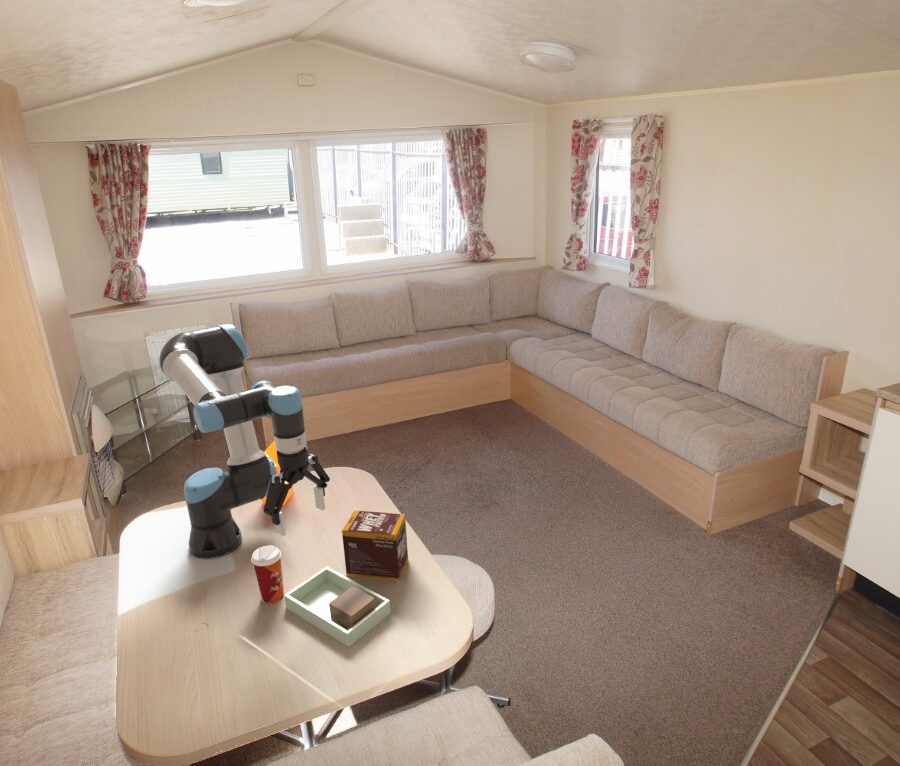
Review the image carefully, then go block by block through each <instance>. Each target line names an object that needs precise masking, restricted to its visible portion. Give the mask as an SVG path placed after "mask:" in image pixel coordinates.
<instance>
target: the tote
mask: <svg viewBox="0 0 900 766" xmlns="http://www.w3.org/2000/svg"><path fill="white" fill-rule="evenodd" d="M352 586H353V587H355V588H357V589H359V590H361V591H363V592H364V593H366V594H368V595H370V596H372V597H374V598H375V605H376V609H374V610H373V611H372V612H370V613H369V614H368V615H367V616H365V617H364V618H363V619H362V620H360V621H359V622H358V623H357V624H355V625H354V626H353V627H352V628H350V629H349V630H348V631H347V630H346V629H344V628H342V627H341V626H339V625H337V624H336V623H334V622H332V621H331V614H330V607H329V603H330V602H331V601H333V600H334V599H335V598H337V597H338V596H340V595H341V594H342V593H344V592H345V591H346V590H348V589H349V588H350V587H352ZM283 598H284V603H285V609H287V610H288V611H290V612H292V613H293V614H295V615H297V616H298V617H299V618H301V619H303V620H304V621H306V622H307V623H309V624H310V625H312V626H314V627H316V628H317V629H319V630H321V631H322V632H324V633H325V634H327V635H329V636H330V637H332V638H334V639H335V640H336V641H338V642H340V643H341V644H343V645H345V646H346V647H347V648H350V647H352V646H353V645H354V644H355V643H357V642H358V641H359V640H360V639H361V638H362V637H364V636H365V635H366V634H368V633H369V632H370V631H371V630H372V629H374V627H376V626H377V625H379V624H380V623H381V622H382V621H384V619H386V618H387V617H388V616H389V615H391V613H392V611H391V600H390V599H388V598H386V597H385V596H383V595H381V594H379V593H377V592H375V591H373V590H371V589H370V588H368V587H366V586H364V585H362V584H361V583H358V582H357V581H355V580H353V579H351V578H350V577H348V576H345V575H343V574H342V573H340V572H338V571H336V570H334V569H332V568H330V567H329V566H325V567H324V568H322V569H320V571H318V572H316V573H315V574H313V575H312V576H310V577H309V578H308V579H306V580H304V581H303V582H301V583H300V584H299V585H297V586H295V587H294V588H292V589H291V590H290V591H288V592H287V593H285V594H283Z"/></svg>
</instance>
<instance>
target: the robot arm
mask: <svg viewBox="0 0 900 766" xmlns="http://www.w3.org/2000/svg"><path fill="white" fill-rule="evenodd" d="M163 345H164V346H163V347H162V348H161V351H160V355H159V358H158V359H159V366H160V370H161V371H162V373H163V374H164V375H165V377H166V378H167V379H168V380H170V381H173V382H175V383H176V385H177V386H178V387H179V388H180V389H181V390H182V392H183V393H184V394H185V395H186V397H187V398H188V399H189V401H190V402H191V403H192V404H193V409H192V411H193V418H194V422H195V424H196V426H197V427H198V430H199V431H200V432H201V433H204V434H207V433H211V432H218V431H221V430H223V432H224V436H225V441H226V443H227V448H228V451H229V455H230V457H229V458H228V460H227V461H226V466H227V469H226V470H223V469H222V468H220V467H207V468H203V469H200V470H198V471H196V472H195V473H193V474H192V475H190V476H189V477H188V478H187V479H186V481H185V482H184V485H183V493H184V494H183V495H184V500H185V503H186V508H187V512H188V516H189V523H190V526H191V527H190V531H189V539H188V549H189V552H190V554H191V555H192V556H193V557H196V558H198V559H206V560H207V559H216V558H219V557H222V556H225V555H228V554H229V553H232V552H233V551H235V550H236V549H237V548H238V547H239V546H240V545H241V543H242V540H243V537H242V536H243V535H242V531H241V529H240V527H239V525H238V524H237V522H236V520H235V519H234V518H233V516H232V510H233V509H236V508H239V507H241V506H244V505H247V504H250V503H253V502H255V501H258V500H262V499H263V498H264V497H266V502H265V504H264V506H263V510H262V511H263V513H264V514H266V515H268V516H271V521H272V524H273V525H274V527H275V532H276V533H277V534H279V535H281V536H286V534H287V533H286V528H285V527H286V525H285V519H284V513H283V511H281V510H282V508H283V506H284V505H283V503H284V501H285V499H286V496H287V494H288V491H289V489H291V488H292V486H294V485H295V484H297V483H298V482H299V481H302V480H304V478H306V479H308V480H309V481H311V482H313V483H314V486H313V493H314V494H313V495H314V502H315V508H316V509H318V510H321V511H325V510H326V504H325V496H326V490H325V489H326V488H327V487H328V482H330V480H331V478H330V477H329V475H328V474H327V472H326V471H325V470H324V468H323V466H322V465H321V463H320V462H319V457H318V456H317V455H315V454H312V453H310V452H309V451H308V446H307V435H306V428H305V418H304V409H303V399H302V396H301V393H300V390H299V388H297V387H296V386H291V385H281V386H279V385H278V384H276V383H273V382H272V381H268V380H260V381H257V382H256V383H254V384H253V385H252V386H251V387H250V389H248V390H245V385H244V381H243V378H242V372H243V370H244V368H245V363H244V362H245V361H246V360H247V359H248V358H249V350H248V346H247V343H246V341H245V338H244V336H243V334H242V333H241V331H240V330H239V328H237V327H236V326H235V325H234V324H231V323H225V324H217V325H214V326H209V327H204V328H199V329H193V330H189V331H183V332H180V333H177V334H176V335H174V336H172V337H171V338H170V339H169V340H167V342H166V343H165V344H163ZM264 417H267V418H268V419H270V420H271V425H272V431H273V438H274V440H275V447H276V450H277V451H276V453H277V460H278V464H279V466H280V472H279V473H278V474H277V470H276V466H275V464H274V461H273V459H272V458H270V457H267V456H266V453H265V451H263V450H261V449H260V446H259V443H258V438H257V436H256V435H257V434H256V431H255V427H254V423H253V421H254V420H259V419H262V418H264ZM309 465H310V466H311V468H312V469H313V470H314V472H315V474H316V475H317V476H318V477H319V478H318V477H317V476H316V475H314V474H313V473H312V472H311V471H309V470H308V467H309ZM285 481H286V482H288V484H285Z"/></svg>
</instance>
